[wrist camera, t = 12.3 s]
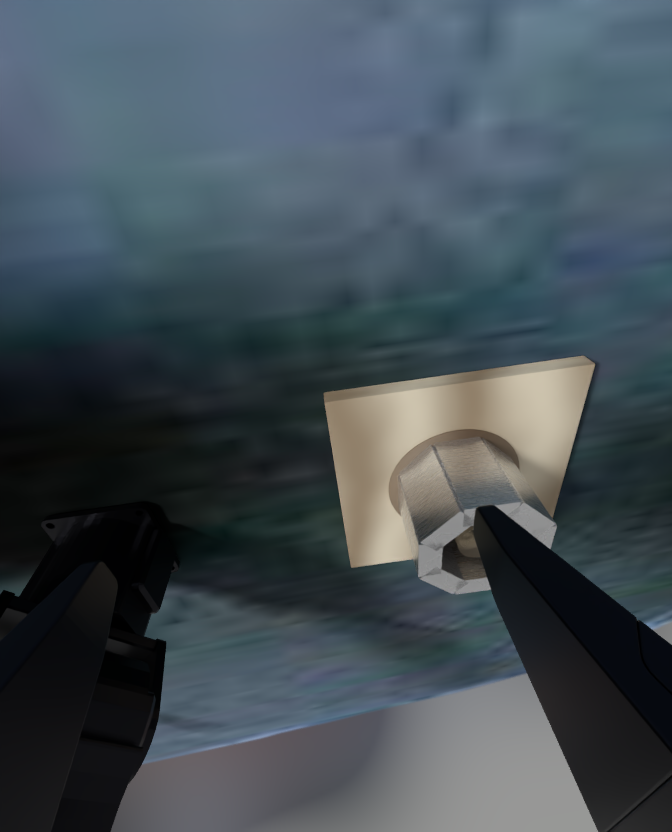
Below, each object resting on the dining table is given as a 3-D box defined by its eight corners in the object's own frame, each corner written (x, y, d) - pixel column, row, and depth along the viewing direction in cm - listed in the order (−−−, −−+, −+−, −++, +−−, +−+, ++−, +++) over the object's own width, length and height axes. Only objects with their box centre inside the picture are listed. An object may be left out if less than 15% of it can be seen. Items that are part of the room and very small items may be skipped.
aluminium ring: (399, 528, 26) (418, 599, 22) (396, 447, 22) (418, 516, 18) (501, 514, 26) (540, 582, 22) (516, 431, 22) (566, 495, 18)
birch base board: (349, 555, 29) (351, 569, 28) (323, 392, 21) (324, 403, 20) (539, 529, 29) (547, 541, 28) (583, 355, 21) (596, 364, 20)
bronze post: (433, 499, 25) (457, 560, 21) (434, 470, 24) (459, 530, 20) (471, 493, 25) (501, 554, 21) (474, 464, 24) (507, 524, 20)
